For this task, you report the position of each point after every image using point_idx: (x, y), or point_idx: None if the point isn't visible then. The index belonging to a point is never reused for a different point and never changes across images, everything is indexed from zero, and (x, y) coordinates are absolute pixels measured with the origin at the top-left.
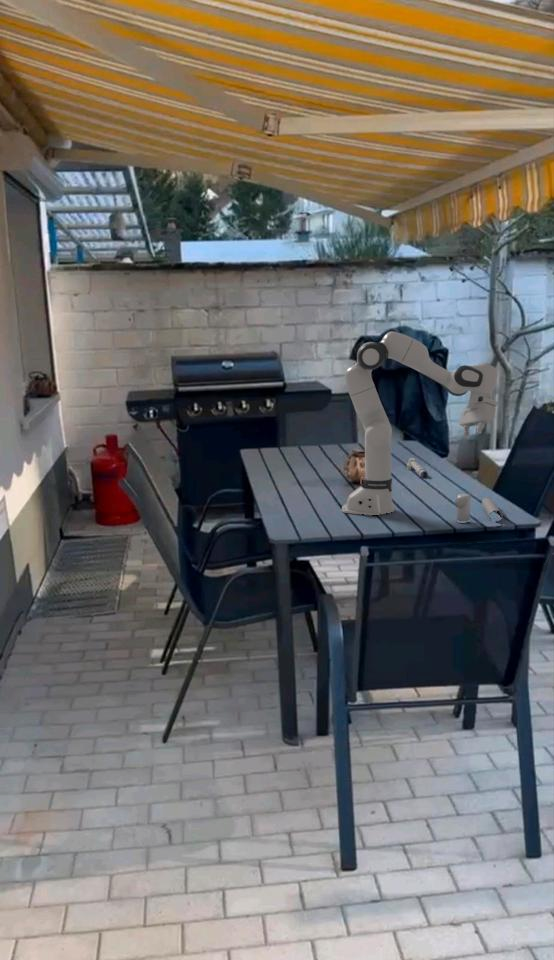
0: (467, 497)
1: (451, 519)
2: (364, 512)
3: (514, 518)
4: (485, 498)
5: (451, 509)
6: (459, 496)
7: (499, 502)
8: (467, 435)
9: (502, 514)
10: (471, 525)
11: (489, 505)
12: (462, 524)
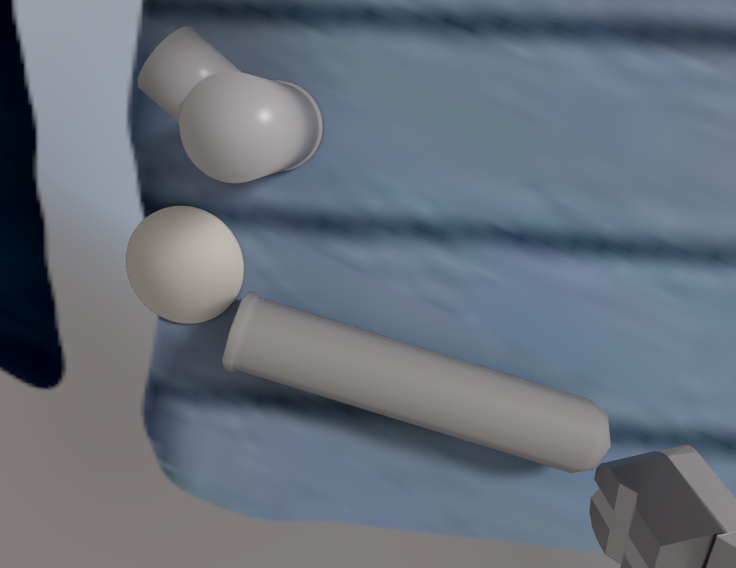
0: (181, 134)
1: (354, 75)
2: None
3: (291, 450)
4: (580, 431)
5: (595, 178)
6: (212, 77)
7: None
8: (594, 506)
9: (225, 369)
10: None
11: (391, 371)
12: None
